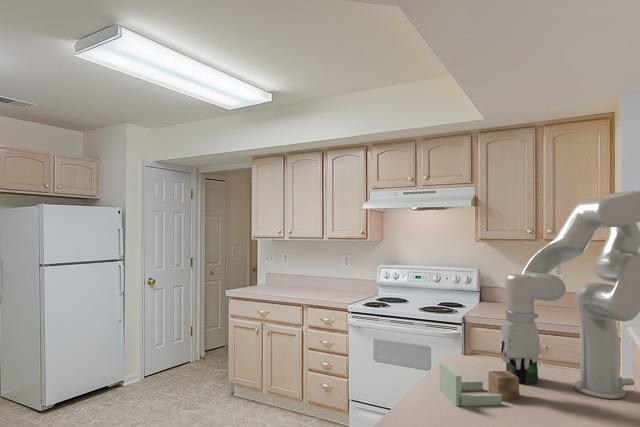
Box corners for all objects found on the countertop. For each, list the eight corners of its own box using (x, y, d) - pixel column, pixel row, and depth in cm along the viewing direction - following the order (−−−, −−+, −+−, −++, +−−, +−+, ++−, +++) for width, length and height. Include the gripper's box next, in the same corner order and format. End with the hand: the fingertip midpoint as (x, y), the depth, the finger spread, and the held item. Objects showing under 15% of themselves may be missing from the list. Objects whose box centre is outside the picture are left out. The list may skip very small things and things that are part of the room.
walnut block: (508, 391, 130) (508, 370, 130) (519, 399, 124) (518, 377, 124) (488, 392, 129) (488, 371, 129) (498, 400, 123) (498, 378, 123)
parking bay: (481, 388, 132) (481, 361, 132) (501, 404, 120) (501, 374, 120) (439, 390, 131) (439, 362, 131) (456, 406, 119) (456, 375, 119)
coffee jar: (542, 384, 136) (541, 323, 137) (518, 385, 135) (517, 323, 136) (525, 374, 146) (524, 317, 146) (502, 374, 145) (501, 317, 146)
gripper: (536, 314, 132) (537, 377, 131) (488, 315, 131) (488, 378, 130) (552, 319, 125) (552, 386, 124) (501, 320, 123) (501, 387, 122)
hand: (520, 382), depth 127 cm, fingers closed
